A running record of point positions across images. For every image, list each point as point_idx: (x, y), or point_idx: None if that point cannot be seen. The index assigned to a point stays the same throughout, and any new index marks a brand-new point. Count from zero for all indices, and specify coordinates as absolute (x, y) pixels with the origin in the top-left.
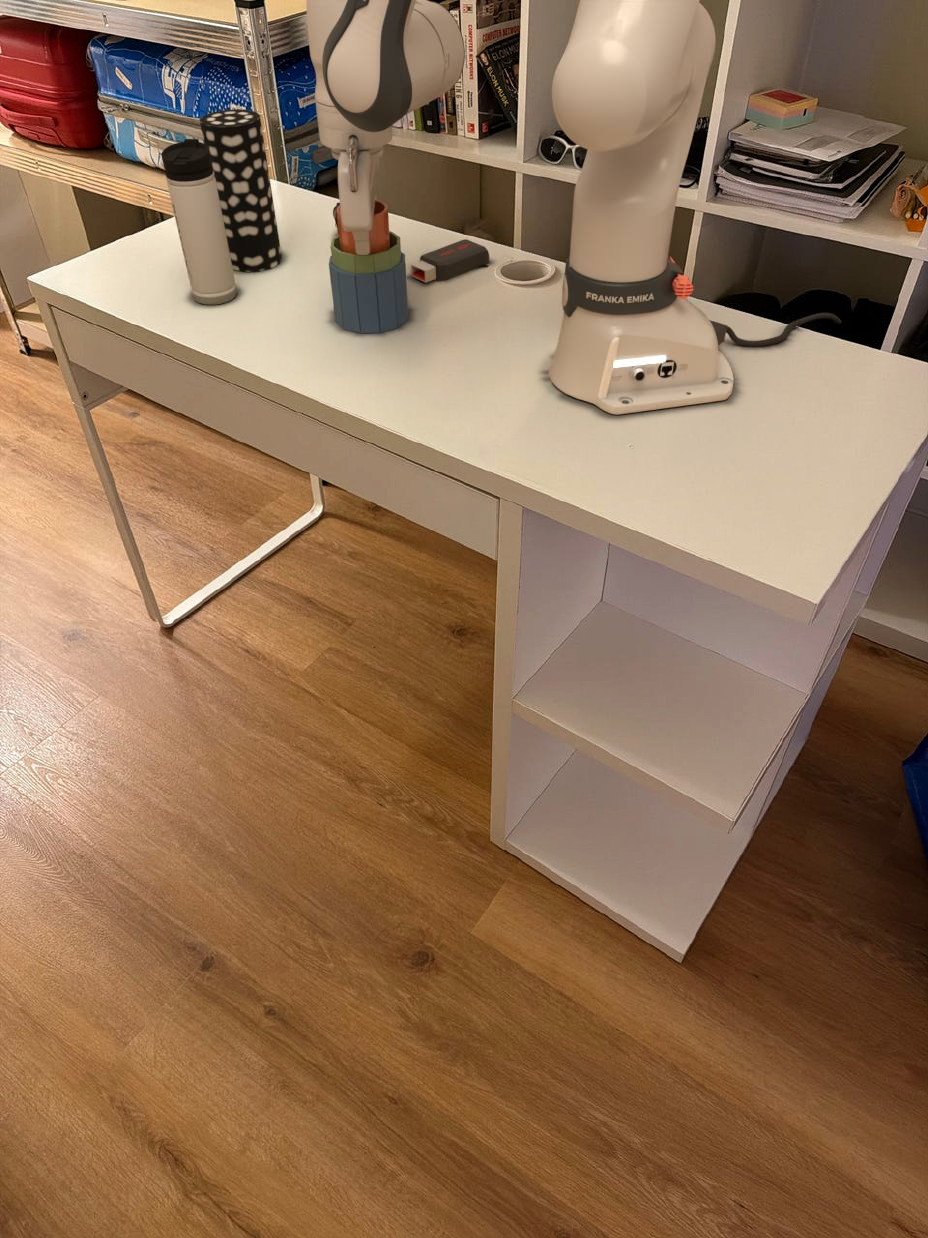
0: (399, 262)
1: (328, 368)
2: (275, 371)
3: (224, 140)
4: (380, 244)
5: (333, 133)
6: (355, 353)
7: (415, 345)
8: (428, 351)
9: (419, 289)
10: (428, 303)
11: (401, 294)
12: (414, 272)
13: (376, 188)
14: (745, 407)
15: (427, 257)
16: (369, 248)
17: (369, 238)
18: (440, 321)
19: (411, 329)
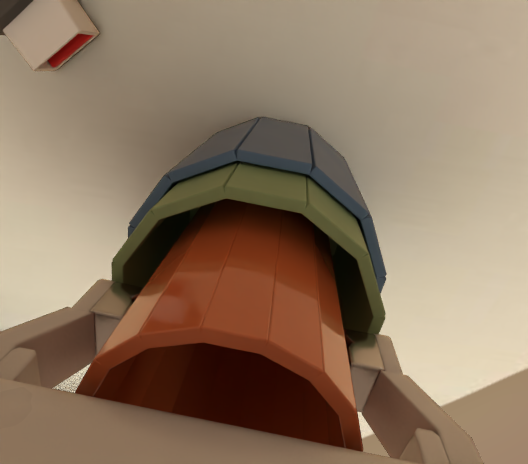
0: (315, 184)
1: (468, 317)
2: (435, 388)
3: None
4: (330, 290)
5: None
6: (430, 264)
7: (454, 131)
8: (502, 103)
9: (133, 60)
10: (224, 49)
11: (332, 159)
12: (47, 60)
13: (51, 422)
14: None
15: (4, 7)
16: (393, 347)
17: (359, 359)
18: (344, 34)
19: (364, 126)
